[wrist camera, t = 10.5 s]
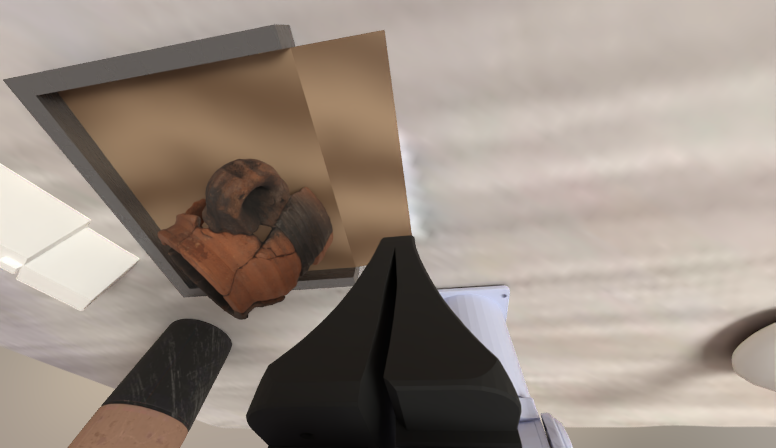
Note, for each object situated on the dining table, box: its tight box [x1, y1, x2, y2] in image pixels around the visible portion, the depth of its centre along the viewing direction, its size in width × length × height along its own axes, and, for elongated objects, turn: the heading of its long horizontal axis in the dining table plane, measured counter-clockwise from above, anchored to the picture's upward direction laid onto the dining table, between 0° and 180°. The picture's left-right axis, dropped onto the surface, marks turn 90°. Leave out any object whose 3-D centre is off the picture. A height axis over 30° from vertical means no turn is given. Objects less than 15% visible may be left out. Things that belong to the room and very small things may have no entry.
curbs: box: [3, 25, 359, 297], centre depth 20 cm, size 18×16×2 cm
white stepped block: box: [0, 164, 140, 311], centre depth 22 cm, size 15×11×6 cm
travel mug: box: [68, 319, 232, 448], centre depth 25 cm, size 8×8×20 cm
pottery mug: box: [158, 159, 333, 320], centre depth 19 cm, size 12×10×8 cm
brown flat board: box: [58, 30, 412, 271], centre depth 21 cm, size 16×20×2 cm
